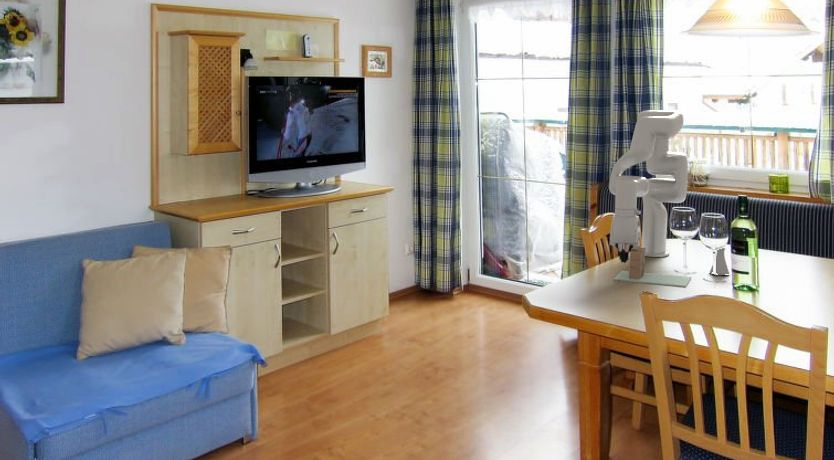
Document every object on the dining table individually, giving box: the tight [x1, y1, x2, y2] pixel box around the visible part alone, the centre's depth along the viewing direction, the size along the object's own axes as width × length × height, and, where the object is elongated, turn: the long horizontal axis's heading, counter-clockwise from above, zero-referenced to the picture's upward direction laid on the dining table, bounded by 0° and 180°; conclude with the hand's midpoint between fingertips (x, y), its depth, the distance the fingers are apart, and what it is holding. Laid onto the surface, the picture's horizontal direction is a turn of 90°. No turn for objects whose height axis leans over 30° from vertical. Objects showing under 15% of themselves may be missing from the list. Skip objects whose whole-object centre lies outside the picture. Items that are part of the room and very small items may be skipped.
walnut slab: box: [628, 246, 646, 279], centre depth 279 cm, size 8×4×10 cm, turn 153°
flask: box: [709, 247, 730, 275], centre depth 282 cm, size 7×7×10 cm
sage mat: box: [613, 270, 692, 288], centre depth 277 cm, size 13×25×1 cm, turn 63°
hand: (623, 261), depth 281 cm, fingers closed
